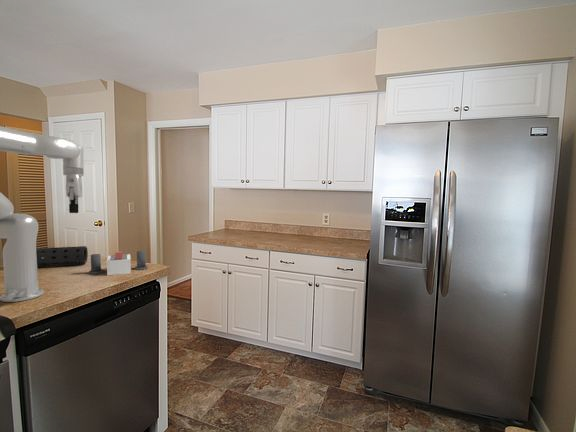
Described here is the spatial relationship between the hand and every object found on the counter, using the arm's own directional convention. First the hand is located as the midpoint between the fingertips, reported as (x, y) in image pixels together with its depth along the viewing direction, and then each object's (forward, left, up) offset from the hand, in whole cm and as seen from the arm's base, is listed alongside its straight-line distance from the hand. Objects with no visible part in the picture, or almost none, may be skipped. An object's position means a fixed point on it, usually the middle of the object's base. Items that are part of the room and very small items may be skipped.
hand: (73, 212), depth 138 cm
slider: (0, -17, -22) cm, 28 cm away
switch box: (+4, -17, -30) cm, 35 cm away
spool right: (+5, -27, -30) cm, 41 cm away
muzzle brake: (+27, +13, -30) cm, 43 cm away
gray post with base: (+5, -7, -30) cm, 31 cm away
